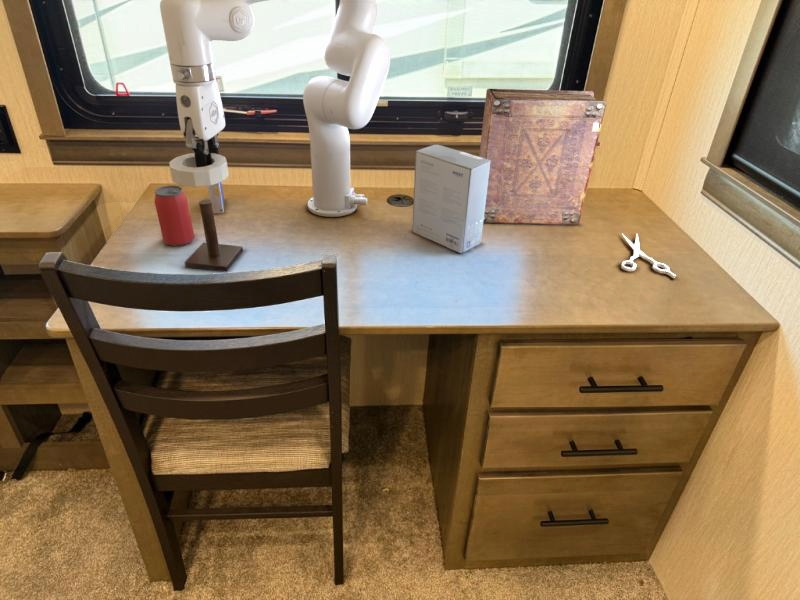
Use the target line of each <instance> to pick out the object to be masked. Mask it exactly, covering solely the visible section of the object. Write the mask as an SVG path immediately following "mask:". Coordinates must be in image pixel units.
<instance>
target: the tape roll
mask: <svg viewBox="0 0 800 600" xmlns="http://www.w3.org/2000/svg"><path fill="white" fill-rule="evenodd" d="M211 157H212V163H213V164H212V165H209V166H205V167H197V166H196V161H195V155H194V153H193V152H192V153H186V154H182V155H180V156H179V155H178V156H176V157H174V158H173V159H171V160H170V161H169V163H168V164H169V169H170V174H171V175H170V176H171V179H172V183H174V184H177V185H178V186H180V187H191V188H199V187H208V186H210V185H214V184H217V183H220V182H221V183H222V182H224V181H225V180H226V179H227V178H228V177H230V175H229V174H230V173H229V167H228V161H227V158H226V157H225V156H224V155H221V154H219V155H218V154H215V153H211Z"/></svg>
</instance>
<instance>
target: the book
mask: <svg viewBox="0 0 800 600" xmlns="http://www.w3.org/2000/svg"><path fill="white" fill-rule="evenodd" d="M594 95H595V93H594V91H591V90H555V89H553V90H552V89H550V90H549V89H522V88H521V89H519V88H518V89H517V88H516V89H515V88H487V89H486V92H485V101H484V108H483V119H482V128H481V137H480V145H479V154H478V155H479V156H478V157H481V158H484V159H488V160H491V162H490V170H489V178H488V187H487V196H486V204H485V212H484V221H483V224H509V225H510V224H512V225H514V224H515V225H550V226H553V225H554V226H579V225H580V222H581V217H582V212H583V209H584V204H585V199H586V194H587V190H588V187H589V182H590V177H591V173H592V168H593V166H594V165H593V164H594V161H595V160H594V159H595V156H596V151H597V147H598V144H599V143H598V142H599V137H600V134H601V129H602V125H603V121H604V116H605V113H606V109H607V108H606V107H607V102H606V101H604V100H597V98H595V97H594Z"/></svg>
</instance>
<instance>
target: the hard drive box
mask: <svg viewBox="0 0 800 600" xmlns="http://www.w3.org/2000/svg"><path fill="white" fill-rule="evenodd" d="M414 155H415V156H414V179H413V181H414V182H413V205H412V228H411V232H412V233H414V234H417V235H419V236H420V237H423V238H424V239H428V240H430V241H432V242H434V243H437V244H439V245H441V246H442V247H443V246H444V247H446V248H447V249H450V250H452V251H454V252H457V253H459V254H464V253H466V252H467V251H470V250H471V249H473V248H475V247H477V246H478V245H480V244H482V237H483V227H484V223H483V221H484V212H485V204H486V196H487V187H488V178H489V170H490V162H491V160H488V159H484V158H481V157H479V156H478V155H475V154H471V153H468V152H465V151H461V150H458V149H454V148H450V147H448V146H443V145H440V144H437V143H435V144H432V145H429V146H426V147H423V148H421V149H418V150H415V154H414Z"/></svg>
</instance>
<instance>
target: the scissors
mask: <svg viewBox="0 0 800 600" xmlns="http://www.w3.org/2000/svg"><path fill="white" fill-rule="evenodd" d="M620 234H621V235H622V237H623V238H624V240H625V241H626V243H627V244H628V246H629V247H630V248H631V249H632V250H633V253H632V256H630V257H629V259H627V260H623V261H622V262H621V264H620V267H621V269H622V270H624V271H625V272H634V271H635V270H636V269H637V263H636V262H634V260H636V259H638V258H642V259H643V260H646V261H648V262H650V264H652V267H651V268H652V269H653V270H654V271H655V272H657V273H660V274H665V275H667V276H669V277H671V278H672V279H675V278H676V277H677V274H676V273H674V272H672V271H671V270H670V267H669V266H668V265H667V264H665V263H663V262H659V261H656V260H654V258H653V257H649V256H648V255H646V254H645V252H643V251H642V250H641V245H640V240H639V235H638V234H636V235H635V240H634V241H635V242H634V243H633V242H632V241H631V240H630V238H629V239H628V237H627V236H626V235H625V234H623V233H622V232H620ZM625 265H628V266H625ZM629 265H630V267H629ZM660 267H661V268H660ZM662 268H663V269H662Z"/></svg>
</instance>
